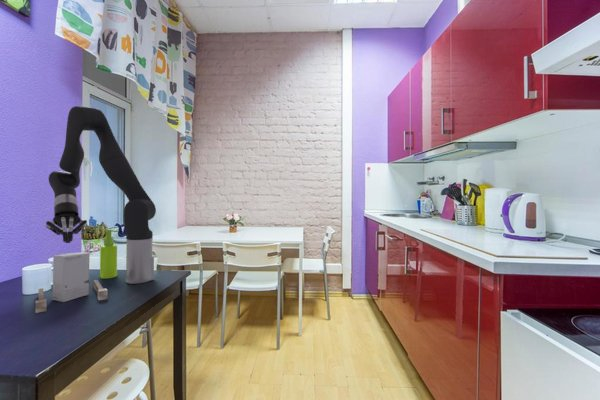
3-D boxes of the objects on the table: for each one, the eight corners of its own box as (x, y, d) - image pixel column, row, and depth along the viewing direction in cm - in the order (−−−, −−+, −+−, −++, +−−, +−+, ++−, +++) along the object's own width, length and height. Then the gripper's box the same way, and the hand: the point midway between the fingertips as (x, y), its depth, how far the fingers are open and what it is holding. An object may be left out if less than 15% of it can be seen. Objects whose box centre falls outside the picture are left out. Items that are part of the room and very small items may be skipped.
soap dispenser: (113, 278, 117) (113, 230, 117) (96, 278, 117) (96, 230, 117) (122, 274, 123) (122, 228, 122) (106, 274, 123) (106, 228, 122)
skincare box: (62, 302, 91) (62, 256, 90) (51, 300, 93) (51, 255, 93) (90, 294, 98) (90, 252, 98) (79, 292, 101) (79, 250, 100)
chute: (99, 286, 107) (99, 278, 107) (107, 298, 95) (107, 290, 94) (36, 296, 96) (36, 287, 95) (35, 313, 83) (35, 303, 83)
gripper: (44, 201, 109) (44, 236, 100) (87, 201, 118) (90, 234, 109) (44, 214, 113) (44, 249, 104) (85, 213, 122) (88, 245, 113)
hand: (68, 241), depth 106 cm, fingers closed
